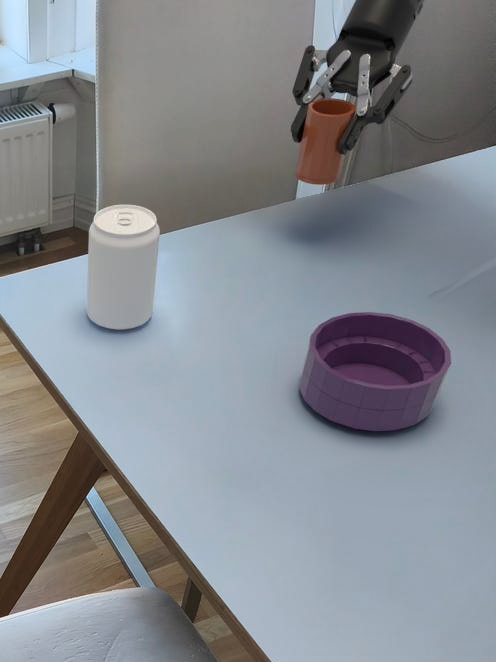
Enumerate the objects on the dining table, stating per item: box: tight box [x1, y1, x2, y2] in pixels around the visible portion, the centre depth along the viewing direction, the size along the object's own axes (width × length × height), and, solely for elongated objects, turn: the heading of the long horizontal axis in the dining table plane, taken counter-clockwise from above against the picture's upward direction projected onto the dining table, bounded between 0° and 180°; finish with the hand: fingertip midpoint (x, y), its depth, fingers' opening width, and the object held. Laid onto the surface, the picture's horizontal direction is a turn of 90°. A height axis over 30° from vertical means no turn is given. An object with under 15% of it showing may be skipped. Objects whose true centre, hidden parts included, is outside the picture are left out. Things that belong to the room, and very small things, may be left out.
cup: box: [294, 97, 357, 186], centre depth 110 cm, size 6×6×8 cm
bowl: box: [298, 311, 452, 432], centre depth 95 cm, size 14×14×6 cm
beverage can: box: [86, 204, 161, 330], centre depth 104 cm, size 8×8×12 cm
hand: (318, 144), depth 109 cm, fingers closed on cup, 5 cm apart
